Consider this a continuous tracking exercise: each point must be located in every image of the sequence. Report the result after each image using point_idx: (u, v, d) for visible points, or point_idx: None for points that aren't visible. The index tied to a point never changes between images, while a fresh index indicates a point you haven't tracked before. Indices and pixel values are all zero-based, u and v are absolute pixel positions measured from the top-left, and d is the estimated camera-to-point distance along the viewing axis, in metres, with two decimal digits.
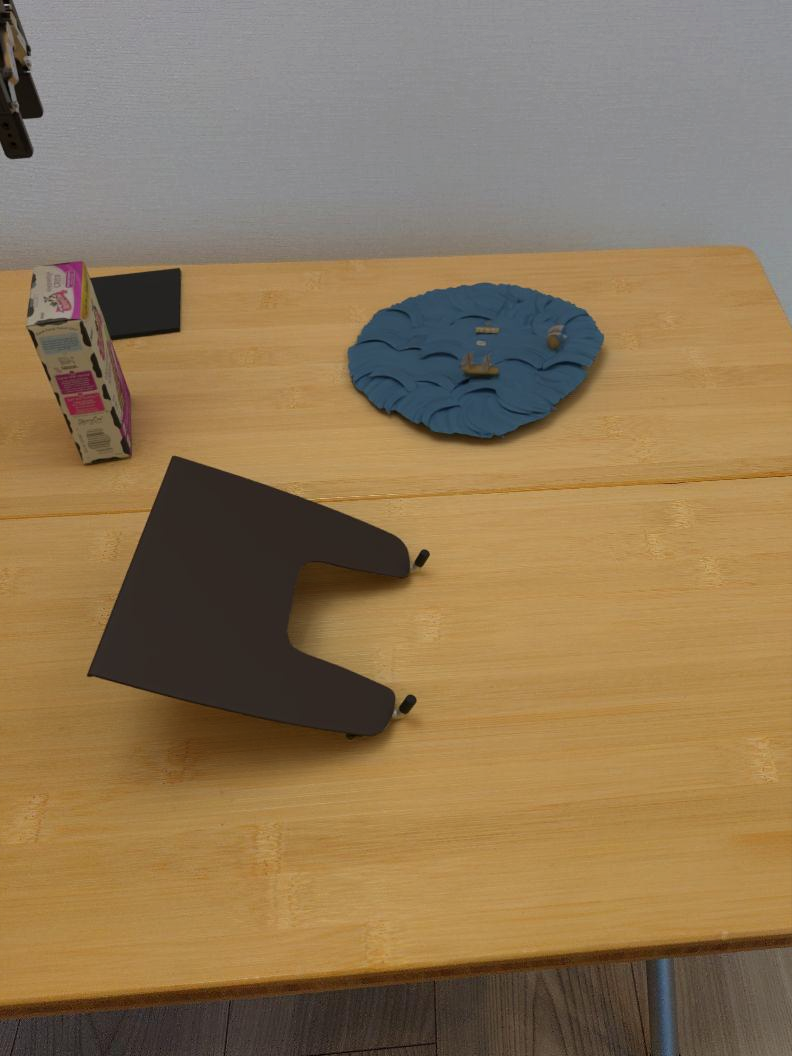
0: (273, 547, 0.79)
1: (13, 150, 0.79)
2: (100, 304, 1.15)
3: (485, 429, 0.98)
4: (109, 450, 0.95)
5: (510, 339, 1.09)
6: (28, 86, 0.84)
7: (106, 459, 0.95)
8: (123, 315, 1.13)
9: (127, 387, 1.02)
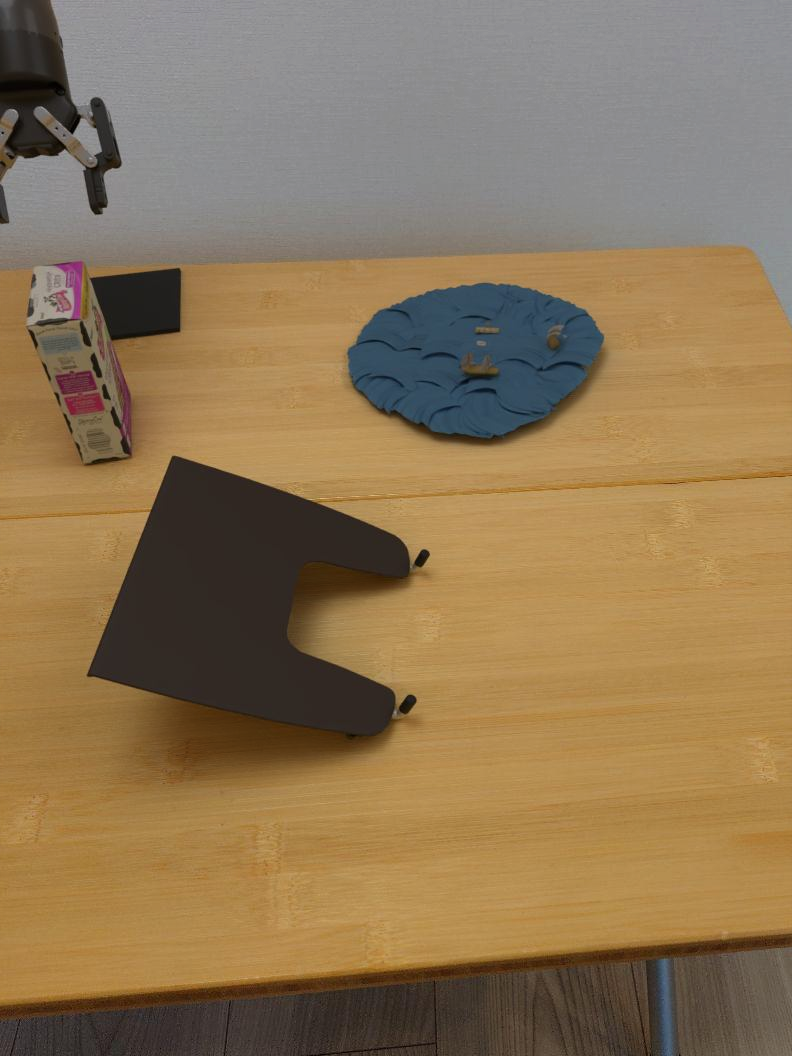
0: (273, 547, 0.79)
1: (105, 200, 0.91)
2: (100, 304, 1.15)
3: (485, 429, 0.98)
4: (109, 450, 0.95)
5: (510, 339, 1.09)
6: (3, 194, 0.91)
7: (106, 459, 0.95)
8: (123, 315, 1.13)
9: (127, 387, 1.02)
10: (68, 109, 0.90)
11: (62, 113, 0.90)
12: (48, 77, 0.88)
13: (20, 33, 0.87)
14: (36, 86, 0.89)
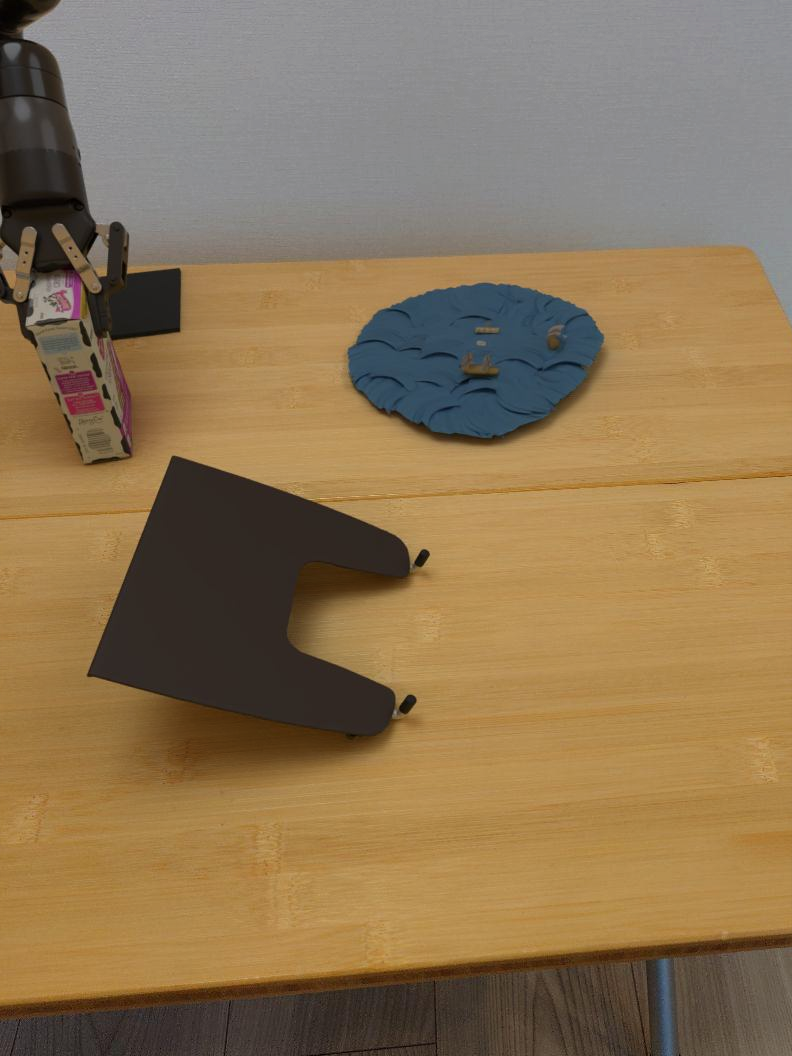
0: (273, 547, 0.79)
1: (109, 325, 0.90)
2: None
3: (485, 429, 0.98)
4: (109, 450, 0.95)
5: (510, 339, 1.09)
6: None
7: (106, 459, 0.96)
8: (123, 315, 1.13)
9: (127, 387, 1.02)
10: (86, 226, 0.89)
11: (79, 228, 0.89)
12: (67, 194, 0.87)
13: (39, 151, 0.86)
14: (55, 202, 0.88)
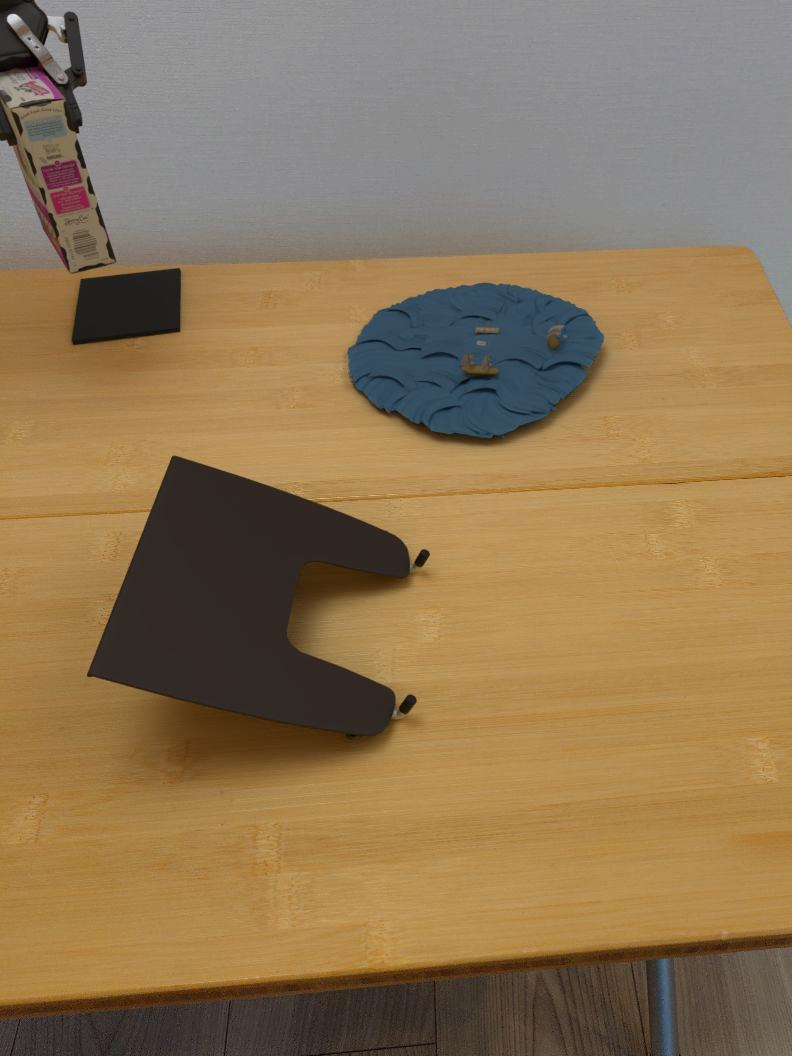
0: (273, 547, 0.79)
1: None
2: (100, 304, 1.15)
3: (485, 429, 0.98)
4: (95, 255, 0.94)
5: (510, 339, 1.09)
6: None
7: (92, 266, 0.95)
8: (123, 315, 1.13)
9: None
10: (39, 17, 0.88)
11: (33, 20, 0.88)
12: None
13: None
14: None
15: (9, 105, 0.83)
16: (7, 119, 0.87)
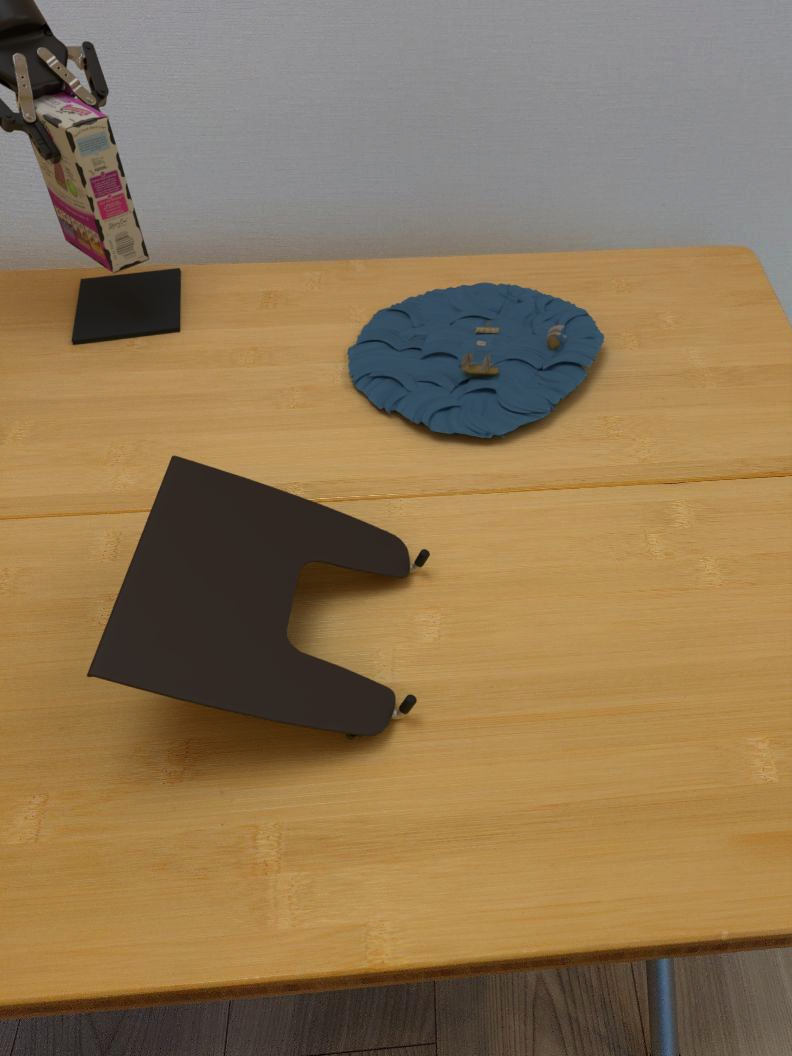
0: (273, 547, 0.79)
1: None
2: (100, 304, 1.15)
3: (485, 429, 0.98)
4: (133, 254, 1.07)
5: (510, 339, 1.09)
6: None
7: (130, 265, 1.07)
8: (123, 315, 1.13)
9: None
10: (62, 48, 1.00)
11: (56, 51, 1.00)
12: (41, 19, 0.98)
13: None
14: (30, 29, 0.98)
15: (63, 126, 0.95)
16: None
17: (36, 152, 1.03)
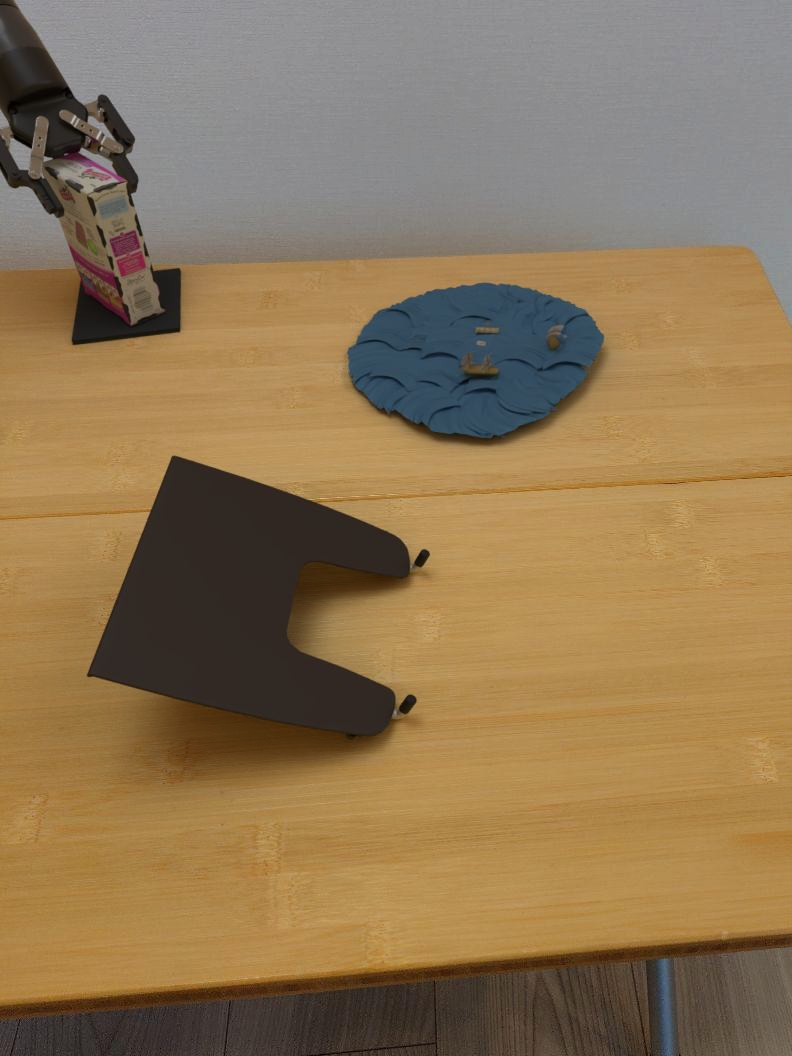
0: (273, 547, 0.79)
1: None
2: (100, 304, 1.15)
3: (485, 429, 0.98)
4: (150, 308, 1.12)
5: (510, 339, 1.09)
6: None
7: (148, 317, 1.12)
8: None
9: None
10: (82, 108, 1.05)
11: (79, 113, 1.04)
12: (62, 83, 1.02)
13: (30, 49, 1.00)
14: (53, 93, 1.02)
15: (85, 191, 1.00)
16: (72, 203, 1.04)
17: None
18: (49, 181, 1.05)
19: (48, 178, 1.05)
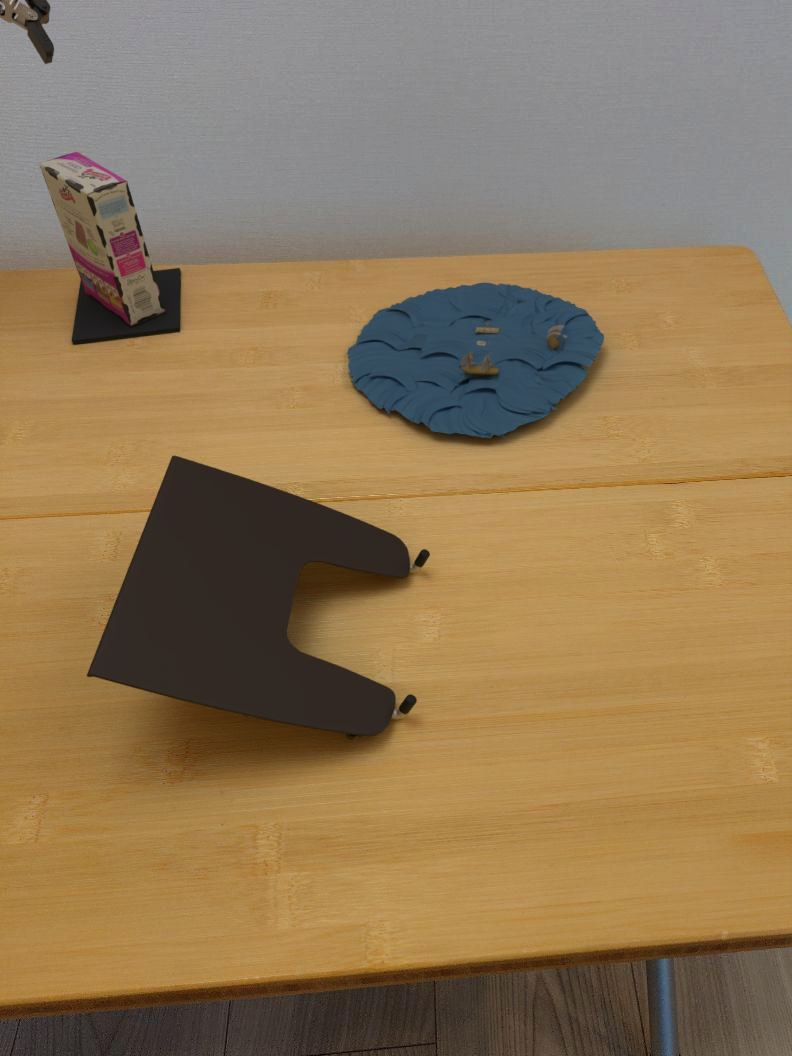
0: (273, 547, 0.79)
1: None
2: (100, 304, 1.15)
3: (485, 429, 0.98)
4: (150, 308, 1.12)
5: (510, 339, 1.09)
6: None
7: (148, 317, 1.12)
8: None
9: None
10: None
11: None
12: None
13: None
14: None
15: (85, 191, 1.00)
16: (72, 203, 1.04)
17: (58, 212, 1.08)
18: (49, 181, 1.05)
19: (48, 178, 1.05)
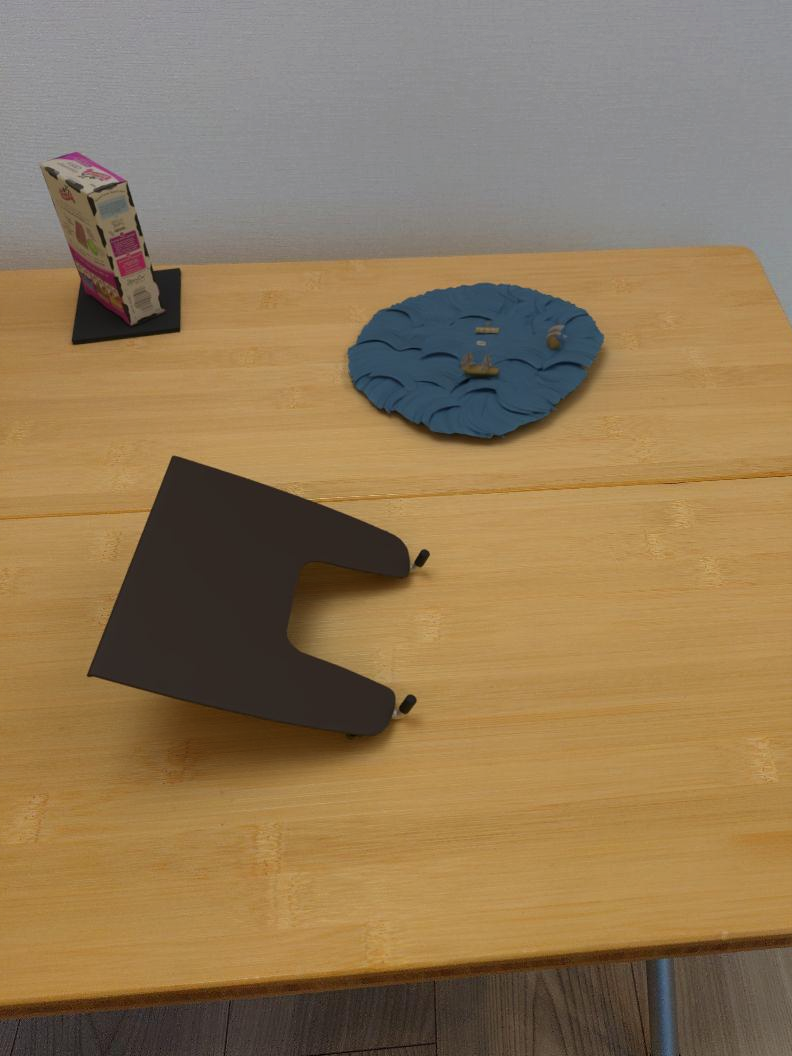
0: (273, 547, 0.79)
1: None
2: (100, 304, 1.15)
3: (485, 429, 0.98)
4: (150, 308, 1.12)
5: (510, 339, 1.09)
6: None
7: (148, 317, 1.12)
8: None
9: None
10: None
11: None
12: None
13: None
14: None
15: (85, 191, 1.00)
16: (72, 203, 1.04)
17: (58, 212, 1.08)
18: (49, 181, 1.05)
19: (48, 178, 1.05)
